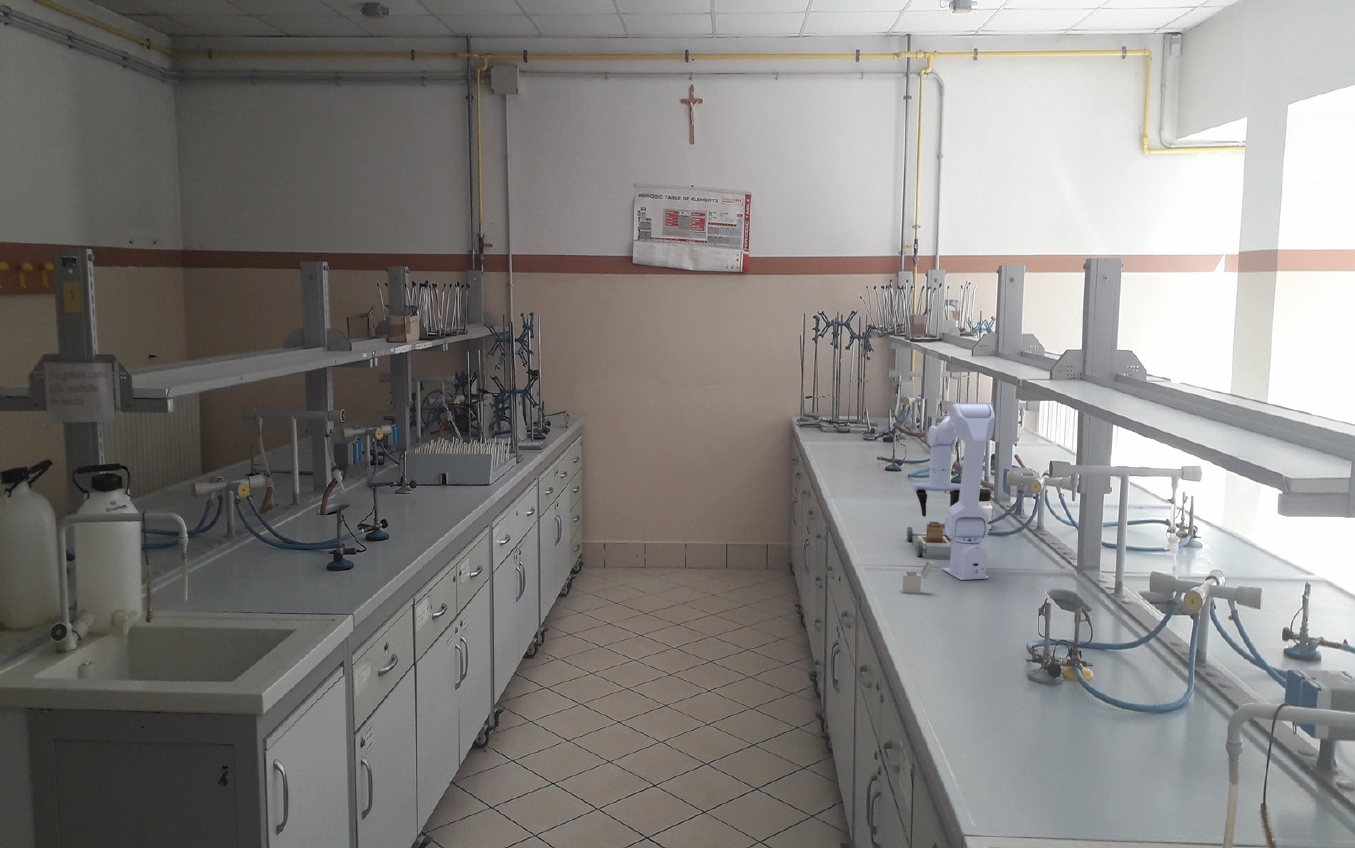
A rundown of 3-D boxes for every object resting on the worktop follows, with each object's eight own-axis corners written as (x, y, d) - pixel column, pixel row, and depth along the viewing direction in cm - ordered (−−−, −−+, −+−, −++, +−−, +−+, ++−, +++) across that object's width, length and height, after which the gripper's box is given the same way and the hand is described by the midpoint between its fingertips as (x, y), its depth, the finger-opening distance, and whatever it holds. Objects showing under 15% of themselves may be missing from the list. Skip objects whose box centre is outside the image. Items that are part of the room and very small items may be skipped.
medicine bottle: (991, 530, 295) (994, 492, 293) (967, 528, 296) (969, 490, 294) (989, 524, 301) (991, 487, 300) (965, 523, 303) (967, 486, 301)
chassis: (964, 559, 261) (964, 545, 261) (919, 558, 262) (920, 544, 262) (947, 539, 283) (947, 525, 283) (905, 537, 284) (906, 524, 283)
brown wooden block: (941, 547, 270) (943, 525, 270) (928, 546, 271) (930, 524, 270) (938, 543, 275) (939, 521, 274) (925, 542, 275) (927, 521, 274)
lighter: (902, 592, 232) (904, 560, 231) (902, 590, 234) (903, 558, 233) (933, 593, 232) (934, 561, 231) (931, 591, 233) (933, 559, 232)
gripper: (963, 466, 273) (960, 513, 275) (911, 465, 274) (909, 512, 276) (969, 471, 266) (966, 519, 268) (915, 470, 267) (913, 517, 269)
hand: (937, 516), depth 271 cm, fingers open, 7 cm apart
